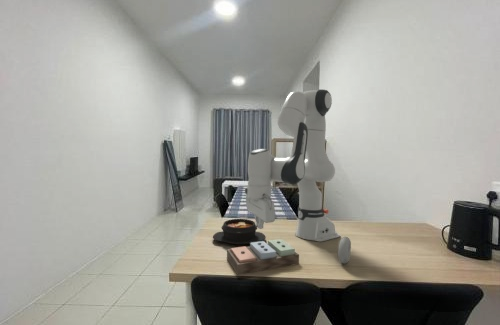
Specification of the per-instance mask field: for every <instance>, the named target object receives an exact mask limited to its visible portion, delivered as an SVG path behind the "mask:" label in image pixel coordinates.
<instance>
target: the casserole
mask: <svg viewBox="0 0 500 325" xmlns="http://www.w3.org/2000/svg"><path fill="white" fill-rule="evenodd" d="M221 230H222V231H218V232H216V233H214V234H213V236H212V239H213V240H214V241H217V242H223V243H228V244H232V245H247V244H250V243H252V242H260V241H265V240H266V235H265V234H264V233H263V232H260V231H257V230H258V227H257V226H256V221H253V220H250V219H247V218H246V219H245V218H232V219H228V220H226V221H224V222H223V224H222V226H221Z"/></svg>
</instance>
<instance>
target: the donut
mask: <svg viewBox="0 0 500 325" xmlns="http://www.w3.org/2000/svg"><path fill="white" fill-rule="evenodd" d="M337 250H338V252H337V255H338V256H337V257H338V261H339V262H340V263H341V264H343V265H345V264H347V263H348V262H349V260H350V258H351V250H352V242H351V239H350V238H349V237H348V236H342V237H341V238H340V240H339V244H338V249H337Z"/></svg>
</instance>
